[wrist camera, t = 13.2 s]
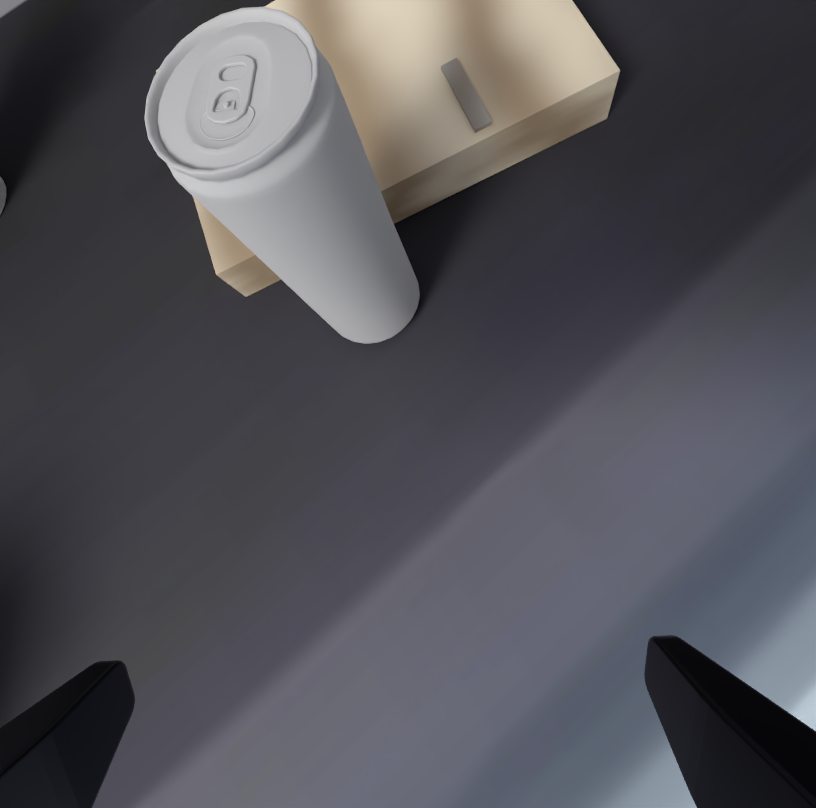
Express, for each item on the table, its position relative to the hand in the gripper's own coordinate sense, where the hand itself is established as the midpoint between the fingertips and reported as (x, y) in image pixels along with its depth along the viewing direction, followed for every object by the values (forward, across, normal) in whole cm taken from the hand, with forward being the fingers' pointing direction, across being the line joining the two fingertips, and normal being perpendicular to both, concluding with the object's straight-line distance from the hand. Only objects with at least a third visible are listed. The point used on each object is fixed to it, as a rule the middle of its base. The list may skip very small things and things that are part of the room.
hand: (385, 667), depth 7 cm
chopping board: (+22, +1, -15) cm, 26 cm away
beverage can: (+16, +1, -5) cm, 17 cm away
